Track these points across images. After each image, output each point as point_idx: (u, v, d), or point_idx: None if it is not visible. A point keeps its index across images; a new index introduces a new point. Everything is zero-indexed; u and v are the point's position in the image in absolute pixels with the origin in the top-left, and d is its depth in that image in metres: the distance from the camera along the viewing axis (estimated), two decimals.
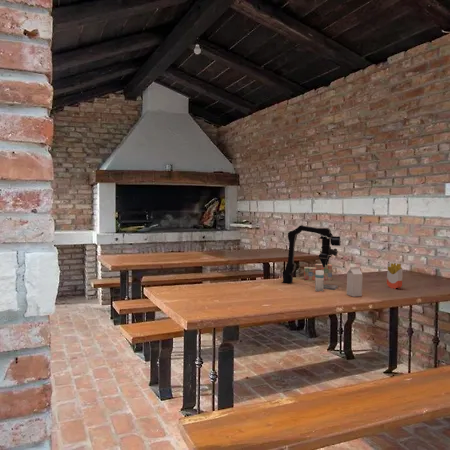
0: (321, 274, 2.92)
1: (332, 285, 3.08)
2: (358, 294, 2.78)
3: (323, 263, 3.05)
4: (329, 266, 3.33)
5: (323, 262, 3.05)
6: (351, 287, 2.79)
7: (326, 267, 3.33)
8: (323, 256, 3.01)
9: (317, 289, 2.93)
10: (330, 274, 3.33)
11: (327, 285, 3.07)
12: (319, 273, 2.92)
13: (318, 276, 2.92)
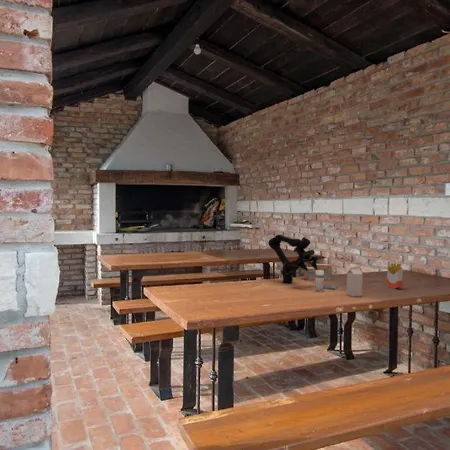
0: (321, 274, 2.92)
1: (332, 285, 3.08)
2: (358, 294, 2.78)
3: (304, 267, 2.99)
4: (329, 266, 3.33)
5: (303, 266, 3.00)
6: (351, 287, 2.79)
7: (326, 267, 3.33)
8: (297, 261, 3.00)
9: (317, 289, 2.93)
10: (330, 274, 3.33)
11: (327, 285, 3.07)
12: (319, 273, 2.92)
13: (318, 276, 2.92)
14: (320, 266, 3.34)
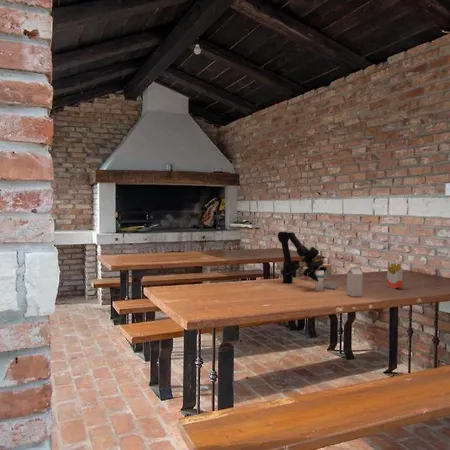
0: (321, 274, 2.92)
1: (332, 285, 3.08)
2: (358, 294, 2.78)
3: (314, 278, 2.93)
4: (328, 266, 3.34)
5: (313, 277, 2.94)
6: (351, 287, 2.79)
7: None
8: (305, 272, 2.93)
9: (317, 289, 2.93)
10: (329, 274, 3.34)
11: (327, 285, 3.07)
12: (319, 273, 2.92)
13: (318, 276, 2.92)
14: (320, 266, 3.34)
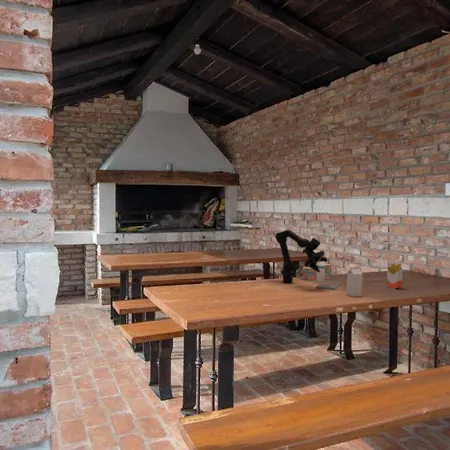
0: (322, 265, 2.92)
1: (332, 285, 3.08)
2: (358, 294, 2.78)
3: (316, 269, 2.93)
4: (328, 266, 3.34)
5: (314, 268, 2.94)
6: (351, 287, 2.79)
7: (325, 267, 3.34)
8: (307, 262, 2.93)
9: (318, 280, 2.93)
10: (329, 274, 3.35)
11: (327, 285, 3.07)
12: (320, 264, 2.92)
13: (319, 267, 2.92)
14: None
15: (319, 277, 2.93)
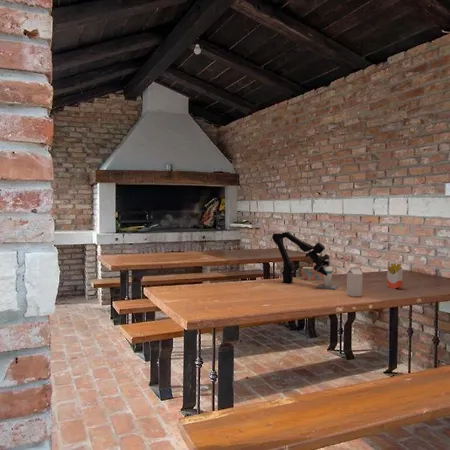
0: (331, 270, 3.02)
1: (332, 285, 3.08)
2: (358, 294, 2.78)
3: (323, 272, 3.01)
4: None
5: (322, 271, 3.01)
6: (351, 287, 2.79)
7: None
8: (317, 266, 2.99)
9: (327, 284, 3.03)
10: None
11: None
12: (329, 269, 3.02)
13: (328, 272, 3.02)
14: None
15: (327, 282, 3.03)
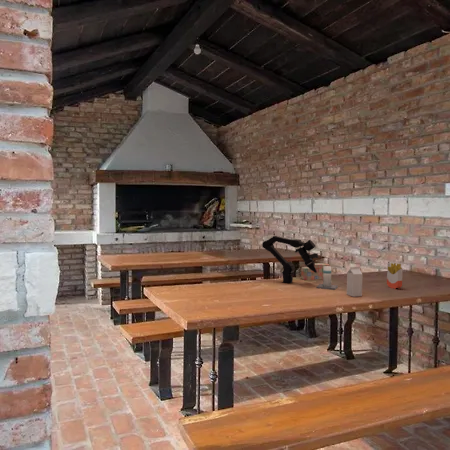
0: (330, 270, 3.03)
1: (332, 285, 3.08)
2: (358, 294, 2.78)
3: (312, 269, 3.06)
4: (327, 265, 3.36)
5: (311, 268, 3.06)
6: (351, 287, 2.79)
7: None
8: (309, 261, 3.04)
9: (327, 284, 3.03)
10: None
11: None
12: (328, 269, 3.02)
13: (328, 272, 3.02)
14: (318, 266, 3.35)
15: (327, 282, 3.03)
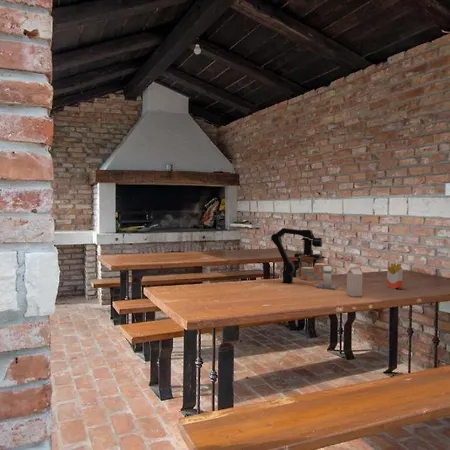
0: (330, 270, 3.03)
1: (332, 285, 3.08)
2: (358, 294, 2.78)
3: (314, 264, 3.13)
4: (326, 265, 3.36)
5: (315, 262, 3.13)
6: (351, 287, 2.79)
7: None
8: (320, 256, 3.12)
9: (327, 284, 3.03)
10: None
11: None
12: (328, 269, 3.02)
13: (328, 272, 3.02)
14: (318, 266, 3.36)
15: (327, 282, 3.03)
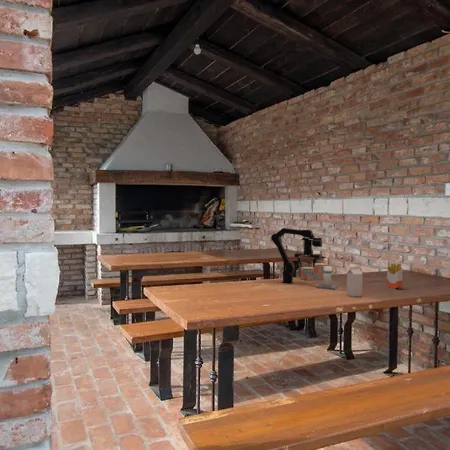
0: (330, 270, 3.03)
1: (332, 285, 3.08)
2: (358, 294, 2.78)
3: (314, 264, 3.13)
4: (326, 265, 3.37)
5: (315, 262, 3.13)
6: (351, 287, 2.79)
7: (323, 266, 3.36)
8: (320, 256, 3.12)
9: (327, 284, 3.03)
10: None
11: None
12: (329, 269, 3.02)
13: (328, 272, 3.02)
14: (318, 266, 3.36)
15: (327, 282, 3.03)
